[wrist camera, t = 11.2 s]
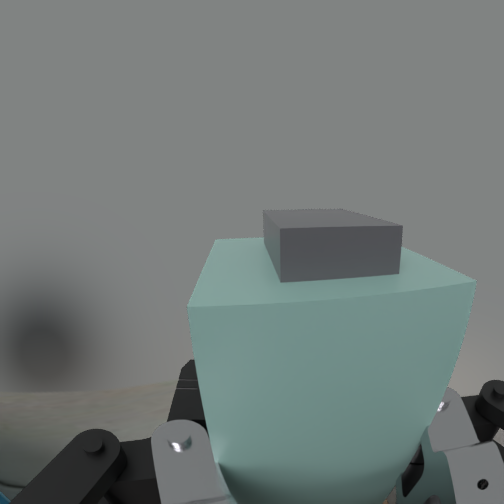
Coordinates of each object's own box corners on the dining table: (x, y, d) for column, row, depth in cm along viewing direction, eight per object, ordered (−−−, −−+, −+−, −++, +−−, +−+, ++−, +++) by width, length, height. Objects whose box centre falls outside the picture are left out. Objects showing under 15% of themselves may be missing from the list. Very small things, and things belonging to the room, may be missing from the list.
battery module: (242, 556, 6) (180, 242, 3) (240, 483, 11) (214, 210, 8) (350, 542, 6) (483, 233, 3) (330, 473, 11) (371, 206, 8)
